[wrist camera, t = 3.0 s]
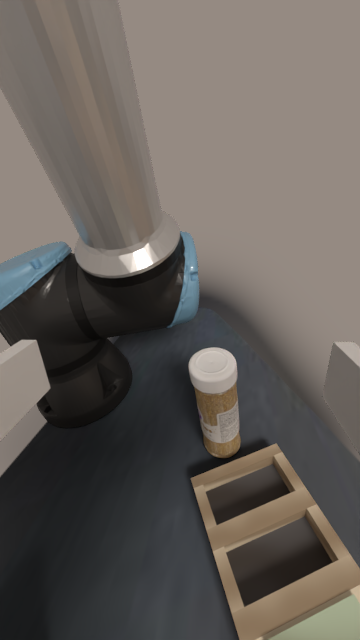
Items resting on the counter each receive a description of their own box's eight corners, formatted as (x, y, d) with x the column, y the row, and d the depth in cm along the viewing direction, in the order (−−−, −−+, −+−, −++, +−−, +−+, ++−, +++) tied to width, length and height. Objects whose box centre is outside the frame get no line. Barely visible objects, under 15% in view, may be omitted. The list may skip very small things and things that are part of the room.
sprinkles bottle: (197, 435, 31) (179, 357, 24) (227, 418, 33) (218, 339, 25) (216, 468, 28) (202, 387, 20) (249, 448, 29) (246, 365, 22)
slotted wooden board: (193, 486, 27) (190, 476, 25) (275, 453, 28) (276, 442, 27) (293, 819, 13) (297, 831, 12) (445, 718, 14) (463, 721, 13)
